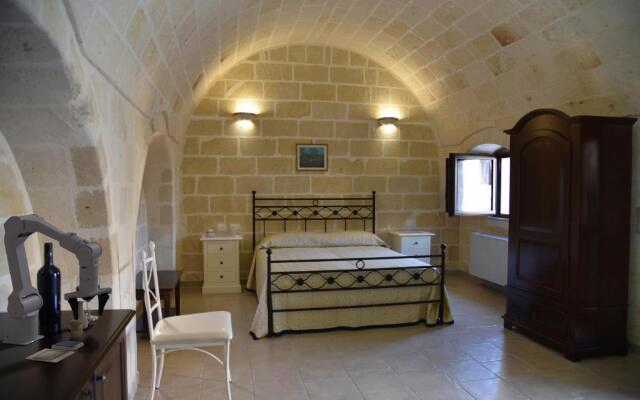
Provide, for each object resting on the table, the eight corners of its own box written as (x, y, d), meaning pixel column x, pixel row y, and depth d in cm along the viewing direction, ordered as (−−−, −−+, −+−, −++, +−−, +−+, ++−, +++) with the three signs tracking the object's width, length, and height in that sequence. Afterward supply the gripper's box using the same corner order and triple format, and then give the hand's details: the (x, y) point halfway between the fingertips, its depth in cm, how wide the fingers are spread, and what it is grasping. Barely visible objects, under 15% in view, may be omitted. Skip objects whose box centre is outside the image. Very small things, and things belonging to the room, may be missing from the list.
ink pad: (51, 348, 145) (51, 344, 145) (62, 343, 150) (62, 339, 150) (72, 351, 144) (72, 347, 144) (83, 345, 149) (83, 341, 149)
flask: (79, 331, 162) (80, 305, 161) (63, 329, 163) (63, 303, 163) (93, 325, 169) (93, 300, 169) (77, 323, 170) (77, 298, 170)
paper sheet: (25, 359, 137) (25, 357, 137) (45, 349, 145) (45, 348, 145) (55, 362, 135) (55, 361, 135) (74, 352, 143) (74, 351, 143)
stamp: (66, 341, 152) (66, 322, 152) (75, 337, 157) (75, 318, 156) (77, 342, 151) (77, 323, 151) (86, 338, 156) (86, 319, 155)
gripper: (68, 283, 141) (68, 324, 141) (115, 277, 151) (114, 316, 151) (62, 279, 146) (62, 319, 146) (108, 273, 156) (107, 311, 157)
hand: (88, 317), depth 149 cm, fingers open, 7 cm apart
